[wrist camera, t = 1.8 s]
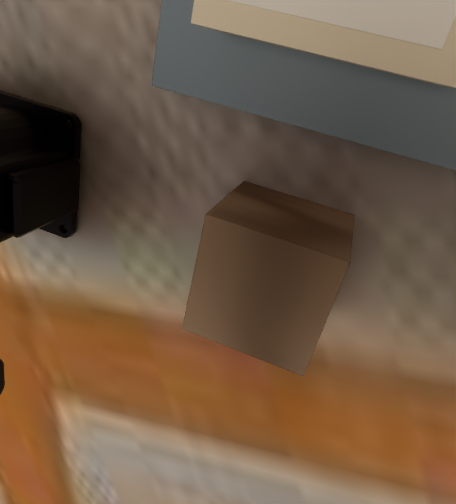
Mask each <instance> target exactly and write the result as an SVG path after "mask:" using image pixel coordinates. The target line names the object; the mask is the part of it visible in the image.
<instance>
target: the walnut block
mask: <svg viewBox="0 0 456 504" xmlns="http://www.w3.org/2000/svg"><path fill="white" fill-rule="evenodd" d="M353 226H354V215H352V214H349V213H345V212H342V211H339V210H336V209H333V208H329V207H326V206H323V205H320V204H317V203H313V202H310V201H307V200H304V199H301V198H297V197H294V196H291V195H288V194H285V193H281V192H278V191H275V190H272V189H268V188H265V187H262V186H259V185H256V184H252V183H249V182H246V181H243V182H242V183H241V184H240V185H239V186H238V187H237V188H235V189H234V190H233V191H232V192H231V193H230V194H229V195H227V196H226V197H225V198H224V199H223V200H222V201H220V202H219V203H218V204H217V205H216V206H215V207H214V208H212V209H211V210H210V211H209V212H208V213H207V214H206V216H205V220H204V225H203V230H202V235H201V240H200V244H199V249H198V254H197V259H196V264H195V268H194V273H193V278H192V283H191V288H190V292H189V297H188V302H187V307H186V312H185V316H184V321H183V326H182V329H184V330H186V331H189V332H191V333H194V334H197V335H199V336H202V337H204V338H207V339H209V340H212V341H214V342H217V343H220V344H222V345H225V346H227V347H230V348H232V349H235V350H237V351H240V352H242V353H245V354H248V355H250V356H253V357H255V358H258V359H260V360H263V361H265V362H268V363H271V364H273V365H276V366H278V367H281V368H283V369H286V370H288V371H291V372H293V373H296V374H299V375H301V376H304V374H305V371H306V369H307V366H308V364H309V361H310V359H311V357H312V354H313V352H314V349H315V347H316V344H317V342H318V340H319V337H320V335H321V332H322V330H323V327H324V325H325V323H326V320H327V318H328V315H329V313H330V310H331V308H332V305H333V303H334V301H335V298H336V296H337V293H338V291H339V288H340V286H341V284H342V281H343V279H344V276H345V274H346V271H347V269H348V267H349V264H350V259H351V248H352V237H353Z"/></svg>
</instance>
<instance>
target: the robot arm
mask: <svg viewBox="0 0 456 504" xmlns="http://www.w3.org/2000/svg"><path fill="white" fill-rule="evenodd" d="M68 120H69V121H70V122H71V128H70V127H69V126H68ZM80 140H81V122H80V119H79V118H78V116H77V115H76V114H74V113H71V112H68V111H65V110H62V109H58V108H55V107H52V106H48V105H45V104H42V103H39V102H35V101H32V100H29V99H25V98H22V97H19V96H16V95H12V94H9V93H6V92H3V91H0V242H2V241H5V240H7V239H9V238H11V237H13V236H14V237H16V238H18V237H21V236H23V235H25V234H27V233H30V232H32V231H34V230H36V229H38V228H39V229H42V230H44V231H47V232H50V233H52V234H55V235H58V236H61V237H64V238H67V237H70V236H72V235H73V234H74V233H75V232H76V222H77V209H78V200H79V180H80V162H79V161H80ZM64 225H65V226H66V228H67V230H66V229H65V228H64ZM4 385H5V380H4V363H3V361H2V360H1V359H0V394H1V393H2V391H3V389H4Z"/></svg>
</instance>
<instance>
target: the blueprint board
mask: <svg viewBox="0 0 456 504" xmlns="http://www.w3.org/2000/svg"><path fill="white" fill-rule="evenodd" d="M152 86H155V87H158V88H162V89H165V90H169V91H173V92H176V93H180V94H183V95H187V96H190V97H194V98H198V99H201V100H205V101H208V102H212V103H216V104H219V105H223V106H226V107H230V108H233V109H237V110H241V111H244V112H248V113H251V114H255V115H258V116H262V117H266V118H269V119H273V120H276V121H280V122H284V123H287V124H291V125H294V126H298V127H301V128H305V129H309V130H312V131H316V132H319V133H323V134H326V135H330V136H334V137H337V138H341V139H344V140H348V141H352V142H355V143H359V144H362V145H366V146H369V147H373V148H377V149H380V150H384V151H387V152H391V153H394V154H398V155H402V156H405V157H409V158H412V159H416V160H420V161H423V162H427V163H430V164H434V165H437V166H441V167H445V168H448V169H452V170H455V171H456V0H162V4H161V12H160V20H159V28H158V37H157V45H156V53H155V61H154V69H153V78H152Z"/></svg>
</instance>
